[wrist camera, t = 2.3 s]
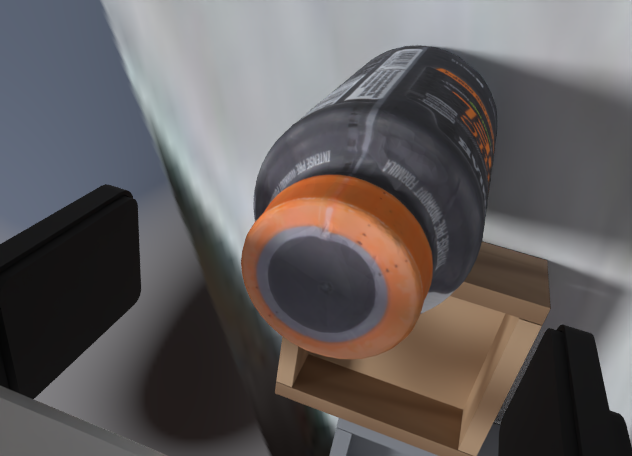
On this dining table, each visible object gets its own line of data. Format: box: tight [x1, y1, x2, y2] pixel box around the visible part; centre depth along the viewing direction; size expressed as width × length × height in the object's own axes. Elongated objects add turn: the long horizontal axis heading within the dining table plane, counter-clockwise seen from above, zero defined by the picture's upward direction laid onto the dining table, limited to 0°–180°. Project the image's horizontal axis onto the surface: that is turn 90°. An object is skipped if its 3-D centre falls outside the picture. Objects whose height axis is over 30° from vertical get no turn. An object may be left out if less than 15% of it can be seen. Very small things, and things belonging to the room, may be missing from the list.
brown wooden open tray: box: [275, 242, 551, 456], centre depth 23 cm, size 10×10×3 cm
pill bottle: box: [241, 46, 497, 359], centre depth 15 cm, size 6×6×11 cm
